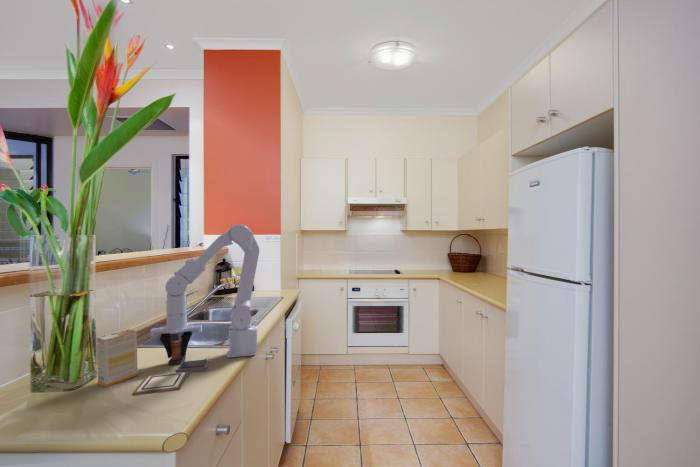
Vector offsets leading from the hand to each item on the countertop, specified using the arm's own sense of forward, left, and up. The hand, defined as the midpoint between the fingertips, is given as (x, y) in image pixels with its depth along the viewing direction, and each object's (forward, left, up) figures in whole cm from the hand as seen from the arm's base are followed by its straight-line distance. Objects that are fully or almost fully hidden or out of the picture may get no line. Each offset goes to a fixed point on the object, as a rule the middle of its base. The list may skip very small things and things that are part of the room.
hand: (177, 356), depth 103 cm
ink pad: (-6, +6, -2) cm, 9 cm away
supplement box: (+13, +9, -2) cm, 16 cm away
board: (0, +15, -2) cm, 15 cm away
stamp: (0, 0, -2) cm, 2 cm away
